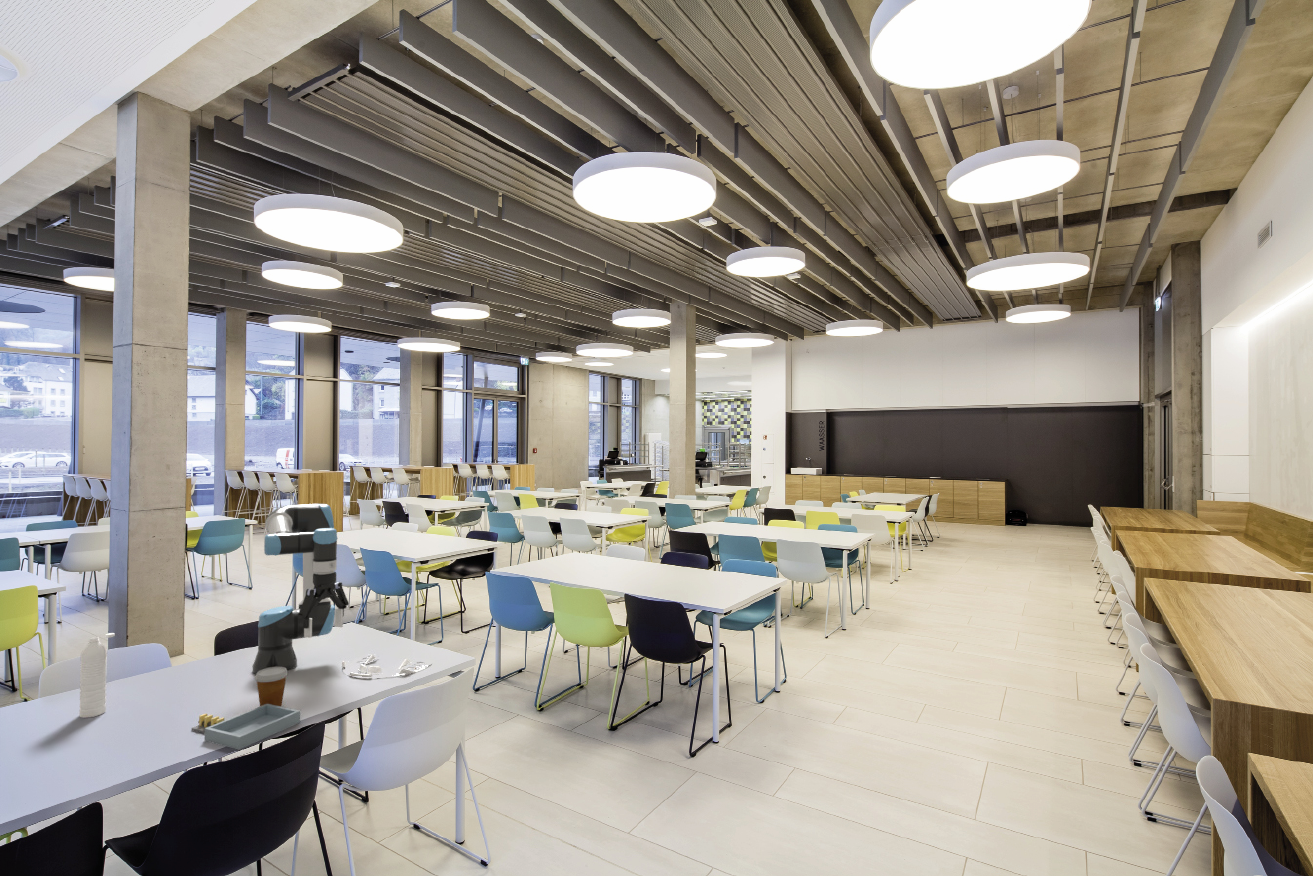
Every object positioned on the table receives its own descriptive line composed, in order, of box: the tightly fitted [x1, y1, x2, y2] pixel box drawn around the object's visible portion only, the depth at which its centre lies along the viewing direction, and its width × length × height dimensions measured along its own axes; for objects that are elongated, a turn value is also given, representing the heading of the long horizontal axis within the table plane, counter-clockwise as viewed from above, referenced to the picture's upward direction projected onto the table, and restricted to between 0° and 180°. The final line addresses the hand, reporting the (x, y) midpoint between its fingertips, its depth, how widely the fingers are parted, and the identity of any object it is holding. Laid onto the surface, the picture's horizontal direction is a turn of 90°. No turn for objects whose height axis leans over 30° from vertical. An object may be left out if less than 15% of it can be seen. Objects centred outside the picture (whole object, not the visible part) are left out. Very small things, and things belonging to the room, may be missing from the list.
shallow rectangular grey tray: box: [204, 704, 301, 750], centre depth 197 cm, size 15×20×4 cm
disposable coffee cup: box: [254, 667, 289, 707], centre depth 215 cm, size 10×10×12 cm
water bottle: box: [79, 632, 116, 719], centre depth 210 cm, size 9×6×25 cm
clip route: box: [191, 713, 226, 735], centre depth 198 cm, size 11×6×4 cm, turn 69°
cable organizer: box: [341, 654, 429, 677], centre depth 254 cm, size 35×24×3 cm
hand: (323, 631), depth 228 cm, fingers open, 13 cm apart
